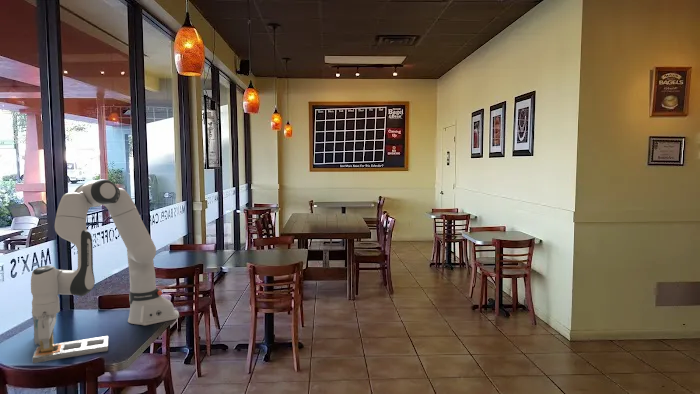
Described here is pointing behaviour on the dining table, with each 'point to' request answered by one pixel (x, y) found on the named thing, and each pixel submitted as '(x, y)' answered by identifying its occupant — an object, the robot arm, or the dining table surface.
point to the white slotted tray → (63, 353)
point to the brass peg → (51, 347)
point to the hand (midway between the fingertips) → (48, 343)
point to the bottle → (36, 330)
